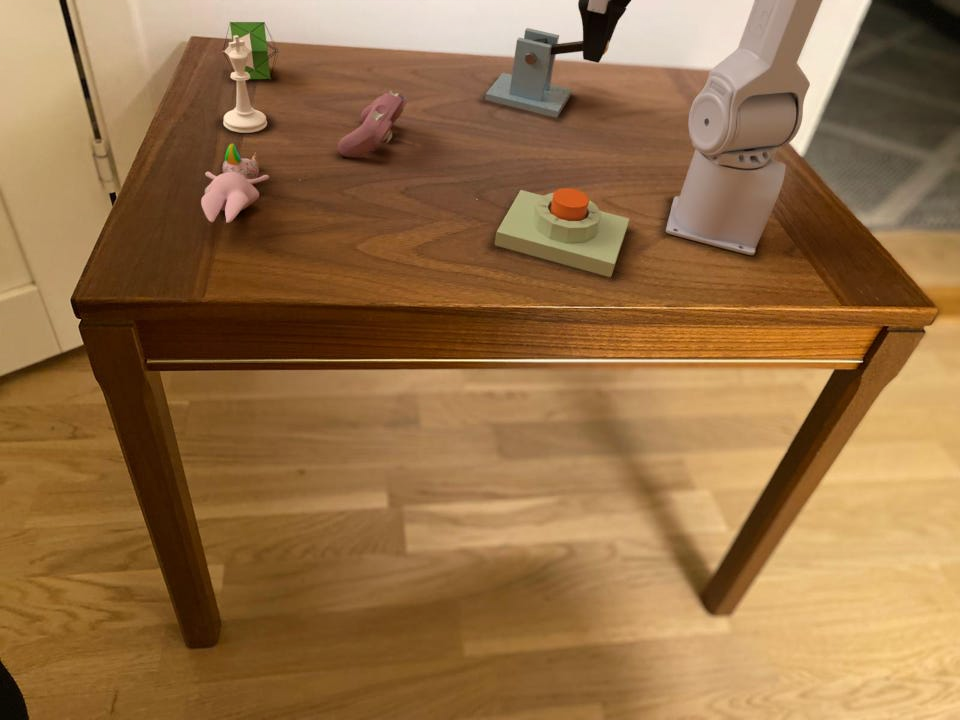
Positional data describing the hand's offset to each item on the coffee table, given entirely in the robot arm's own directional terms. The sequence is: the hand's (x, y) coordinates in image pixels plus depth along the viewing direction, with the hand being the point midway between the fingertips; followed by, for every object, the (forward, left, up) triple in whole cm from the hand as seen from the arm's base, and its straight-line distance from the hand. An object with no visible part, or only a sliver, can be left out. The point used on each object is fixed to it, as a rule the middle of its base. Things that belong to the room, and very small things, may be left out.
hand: (594, 55), depth 95 cm
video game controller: (+20, +22, -8) cm, 31 cm away
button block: (-5, +31, -8) cm, 32 cm away
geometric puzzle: (+41, +13, -8) cm, 44 cm away
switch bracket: (+7, 0, -8) cm, 11 cm away
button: (-4, +31, -4) cm, 32 cm away
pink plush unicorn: (+27, +41, -8) cm, 50 cm away
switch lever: (+3, 0, -1) cm, 3 cm away
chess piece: (+35, +25, -8) cm, 44 cm away
